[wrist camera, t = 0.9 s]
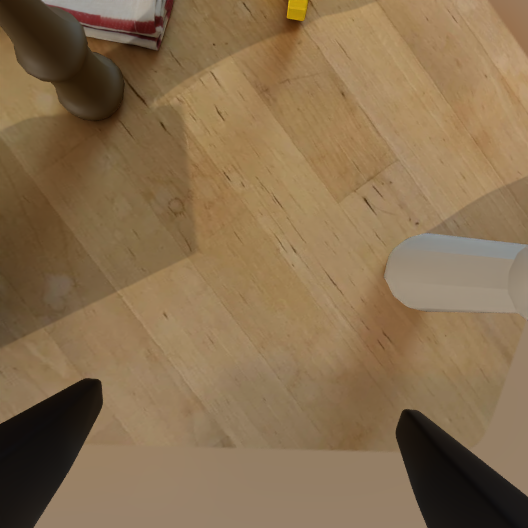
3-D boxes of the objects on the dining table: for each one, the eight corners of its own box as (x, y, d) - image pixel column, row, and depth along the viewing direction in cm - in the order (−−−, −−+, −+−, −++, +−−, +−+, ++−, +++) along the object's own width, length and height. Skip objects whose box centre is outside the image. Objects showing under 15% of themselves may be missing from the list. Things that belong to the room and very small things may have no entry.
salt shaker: (362, 254, 22) (516, 245, 9) (423, 225, 22) (663, 174, 9) (391, 317, 22) (585, 398, 9) (452, 287, 22) (729, 326, 9)
